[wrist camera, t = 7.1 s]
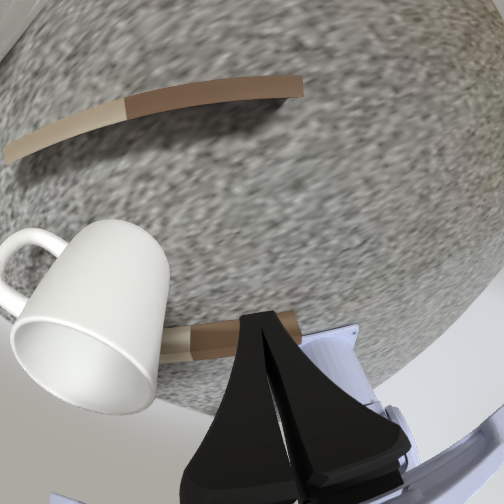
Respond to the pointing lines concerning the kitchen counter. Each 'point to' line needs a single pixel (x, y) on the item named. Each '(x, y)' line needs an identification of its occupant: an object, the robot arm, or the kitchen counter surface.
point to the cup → (92, 316)
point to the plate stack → (16, 20)
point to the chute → (182, 96)
